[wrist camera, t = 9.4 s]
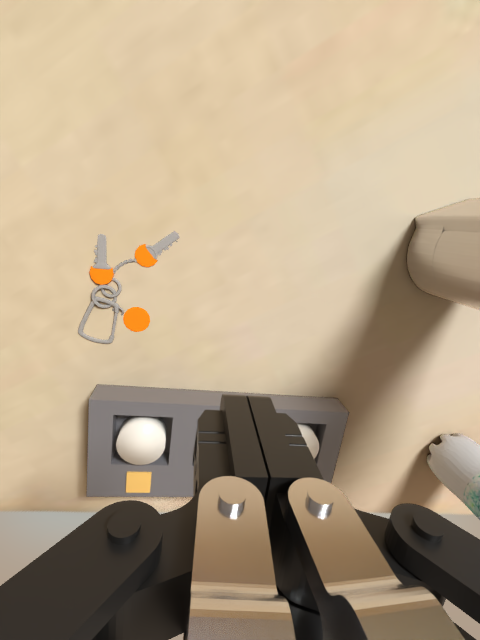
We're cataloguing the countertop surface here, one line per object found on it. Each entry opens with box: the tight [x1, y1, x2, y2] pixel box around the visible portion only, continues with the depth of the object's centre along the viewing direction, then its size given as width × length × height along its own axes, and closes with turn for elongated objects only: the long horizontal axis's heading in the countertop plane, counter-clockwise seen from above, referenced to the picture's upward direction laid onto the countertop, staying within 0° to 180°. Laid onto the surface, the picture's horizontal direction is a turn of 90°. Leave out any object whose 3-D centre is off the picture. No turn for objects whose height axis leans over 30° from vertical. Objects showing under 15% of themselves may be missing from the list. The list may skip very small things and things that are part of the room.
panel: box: [87, 384, 349, 497], centre depth 37 cm, size 26×11×3 cm, turn 82°
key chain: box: [78, 231, 179, 344], centre depth 32 cm, size 13×7×1 cm, turn 157°
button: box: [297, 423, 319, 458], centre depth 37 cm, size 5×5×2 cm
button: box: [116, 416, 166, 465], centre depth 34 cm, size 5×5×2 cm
